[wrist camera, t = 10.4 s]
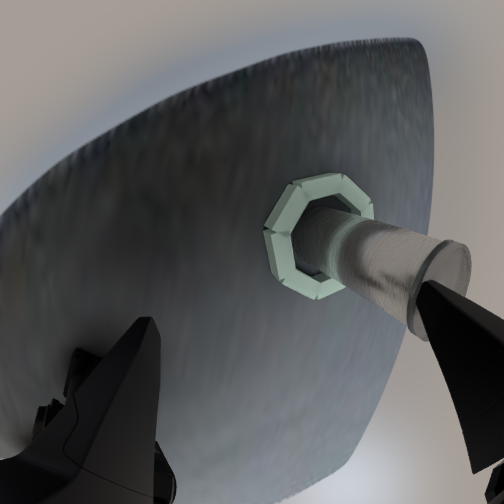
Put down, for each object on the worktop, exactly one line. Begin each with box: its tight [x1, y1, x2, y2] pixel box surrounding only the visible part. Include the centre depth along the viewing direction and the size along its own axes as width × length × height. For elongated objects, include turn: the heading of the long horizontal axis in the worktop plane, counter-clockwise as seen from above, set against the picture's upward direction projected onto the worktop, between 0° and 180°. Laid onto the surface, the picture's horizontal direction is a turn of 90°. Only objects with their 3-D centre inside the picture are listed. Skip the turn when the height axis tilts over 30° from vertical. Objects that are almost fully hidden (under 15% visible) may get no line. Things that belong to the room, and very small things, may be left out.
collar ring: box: [263, 173, 374, 300], centre depth 22 cm, size 10×10×2 cm
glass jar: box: [293, 206, 471, 341], centre depth 17 cm, size 5×5×13 cm
